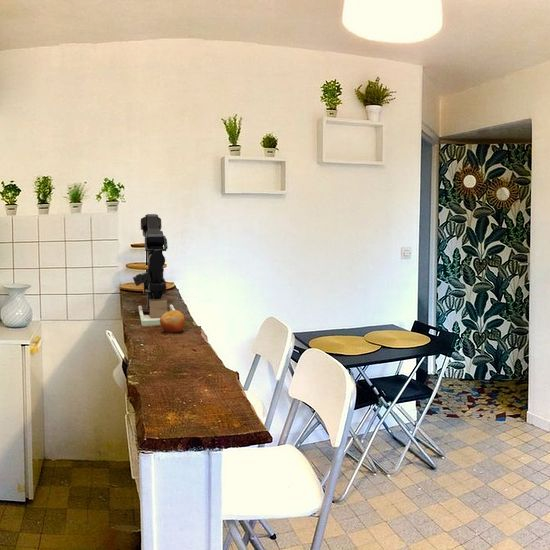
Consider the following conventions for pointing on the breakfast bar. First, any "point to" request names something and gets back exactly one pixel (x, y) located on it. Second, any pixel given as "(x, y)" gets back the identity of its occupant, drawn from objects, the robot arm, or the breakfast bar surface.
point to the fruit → (172, 321)
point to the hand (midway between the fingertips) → (156, 306)
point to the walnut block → (157, 307)
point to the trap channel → (150, 321)
